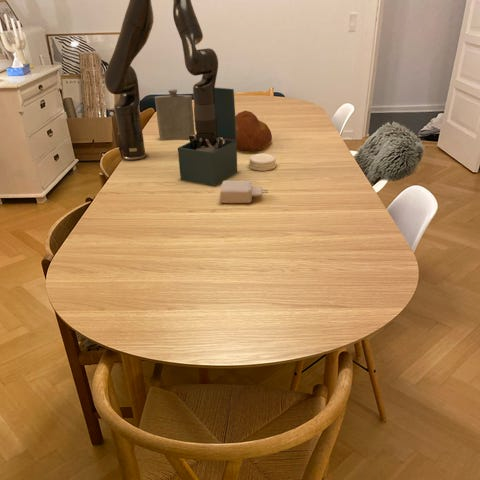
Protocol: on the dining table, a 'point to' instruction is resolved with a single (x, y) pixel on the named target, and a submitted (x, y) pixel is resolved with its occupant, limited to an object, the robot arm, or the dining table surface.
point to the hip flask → (174, 116)
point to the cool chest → (208, 163)
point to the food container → (208, 148)
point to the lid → (225, 113)
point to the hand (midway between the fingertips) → (208, 166)
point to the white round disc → (262, 162)
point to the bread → (251, 132)
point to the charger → (239, 191)
